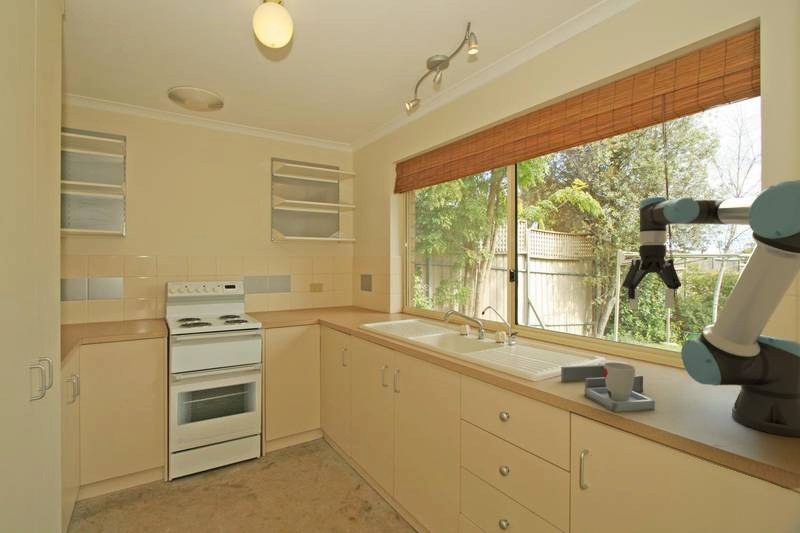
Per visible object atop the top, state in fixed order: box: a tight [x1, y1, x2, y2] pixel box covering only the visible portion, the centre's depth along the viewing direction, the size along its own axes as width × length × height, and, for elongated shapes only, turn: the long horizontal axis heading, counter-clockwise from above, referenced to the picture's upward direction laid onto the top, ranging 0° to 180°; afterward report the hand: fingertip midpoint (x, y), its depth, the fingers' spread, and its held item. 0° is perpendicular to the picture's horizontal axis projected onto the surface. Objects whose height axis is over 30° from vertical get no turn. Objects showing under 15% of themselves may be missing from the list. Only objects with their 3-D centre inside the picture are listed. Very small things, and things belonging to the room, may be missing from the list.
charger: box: [598, 359, 630, 365], centre depth 147 cm, size 5×9×15 cm
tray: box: [584, 387, 656, 413], centre depth 117 cm, size 13×13×2 cm
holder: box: [560, 364, 644, 393], centre depth 133 cm, size 14×20×5 cm
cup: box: [604, 362, 636, 402], centre depth 117 cm, size 8×8×10 cm
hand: (651, 308), depth 130 cm, fingers open, 13 cm apart
